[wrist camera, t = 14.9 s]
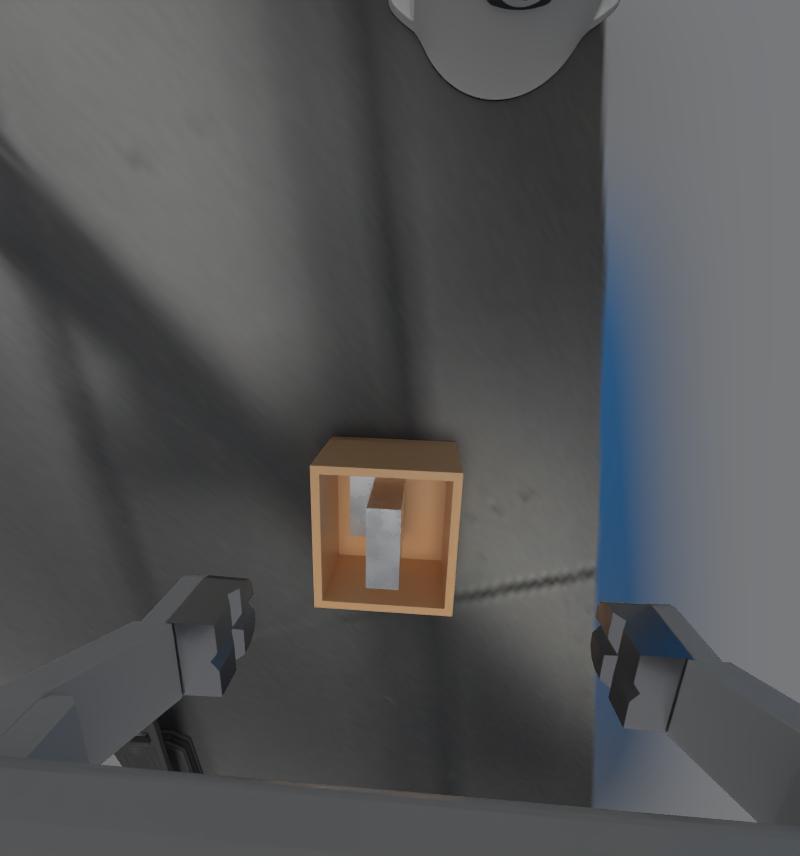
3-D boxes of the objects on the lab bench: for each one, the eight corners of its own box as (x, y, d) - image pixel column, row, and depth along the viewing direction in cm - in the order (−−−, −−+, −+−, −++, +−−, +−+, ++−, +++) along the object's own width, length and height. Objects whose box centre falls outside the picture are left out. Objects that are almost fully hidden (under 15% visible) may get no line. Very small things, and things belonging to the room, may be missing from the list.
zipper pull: (155, 720, 49) (187, 859, 56) (186, 673, 55) (212, 803, 62) (84, 717, 49) (125, 855, 56) (123, 671, 56) (156, 800, 63)
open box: (332, 436, 45) (309, 465, 36) (455, 441, 44) (463, 473, 35) (334, 555, 49) (314, 607, 40) (447, 562, 48) (452, 616, 39)
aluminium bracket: (403, 532, 46) (398, 590, 37) (351, 529, 46) (332, 586, 37) (406, 467, 44) (401, 510, 34) (351, 464, 44) (331, 506, 35)
